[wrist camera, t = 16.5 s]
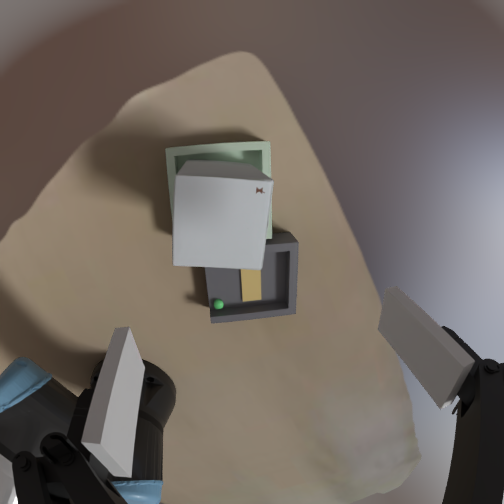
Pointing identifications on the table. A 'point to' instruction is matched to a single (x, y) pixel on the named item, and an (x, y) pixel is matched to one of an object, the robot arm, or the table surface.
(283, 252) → the dark gray open-sided tray
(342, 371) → the table surface
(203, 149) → the trough tray
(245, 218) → the supplement box
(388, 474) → the table surface
